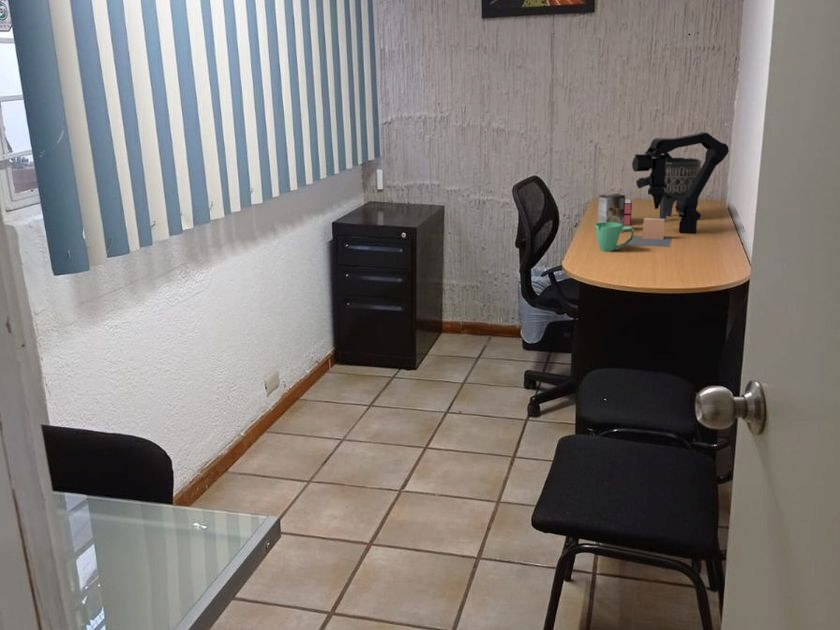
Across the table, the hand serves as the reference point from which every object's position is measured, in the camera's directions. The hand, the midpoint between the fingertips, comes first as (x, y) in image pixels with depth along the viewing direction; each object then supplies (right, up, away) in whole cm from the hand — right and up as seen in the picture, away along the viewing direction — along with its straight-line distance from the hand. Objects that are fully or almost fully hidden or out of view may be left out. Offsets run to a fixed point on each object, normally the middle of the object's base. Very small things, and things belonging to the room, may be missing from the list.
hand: (656, 208), depth 333 cm
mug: (-22, -19, -20) cm, 36 cm away
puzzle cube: (-8, -3, +30) cm, 31 cm away
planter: (+18, 0, +35) cm, 39 cm away
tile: (-3, -13, -5) cm, 14 cm away
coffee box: (-16, -9, +10) cm, 21 cm away
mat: (-5, -15, -9) cm, 18 cm away
